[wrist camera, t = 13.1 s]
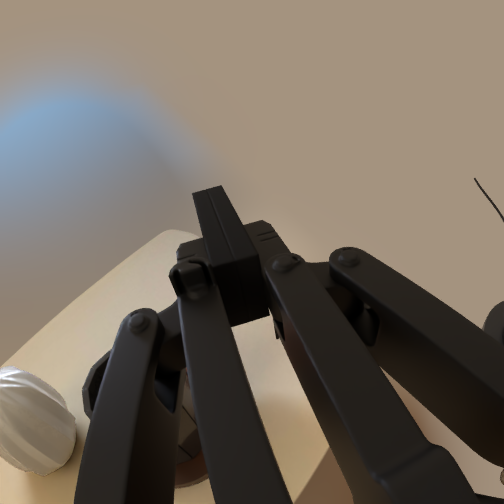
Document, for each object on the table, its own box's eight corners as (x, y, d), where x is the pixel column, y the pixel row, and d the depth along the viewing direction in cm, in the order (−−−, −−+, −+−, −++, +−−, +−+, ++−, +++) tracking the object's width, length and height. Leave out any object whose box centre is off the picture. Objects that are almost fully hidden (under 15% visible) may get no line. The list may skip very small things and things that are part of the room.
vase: (64, 388, 35) (13, 330, 28) (104, 450, 27) (36, 398, 20) (11, 431, 27) (-46, 381, 20) (41, 499, 19) (-35, 458, 12)
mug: (140, 375, 36) (108, 328, 30) (250, 377, 34) (235, 327, 29) (116, 456, 25) (68, 422, 20) (243, 474, 24) (221, 449, 18)
